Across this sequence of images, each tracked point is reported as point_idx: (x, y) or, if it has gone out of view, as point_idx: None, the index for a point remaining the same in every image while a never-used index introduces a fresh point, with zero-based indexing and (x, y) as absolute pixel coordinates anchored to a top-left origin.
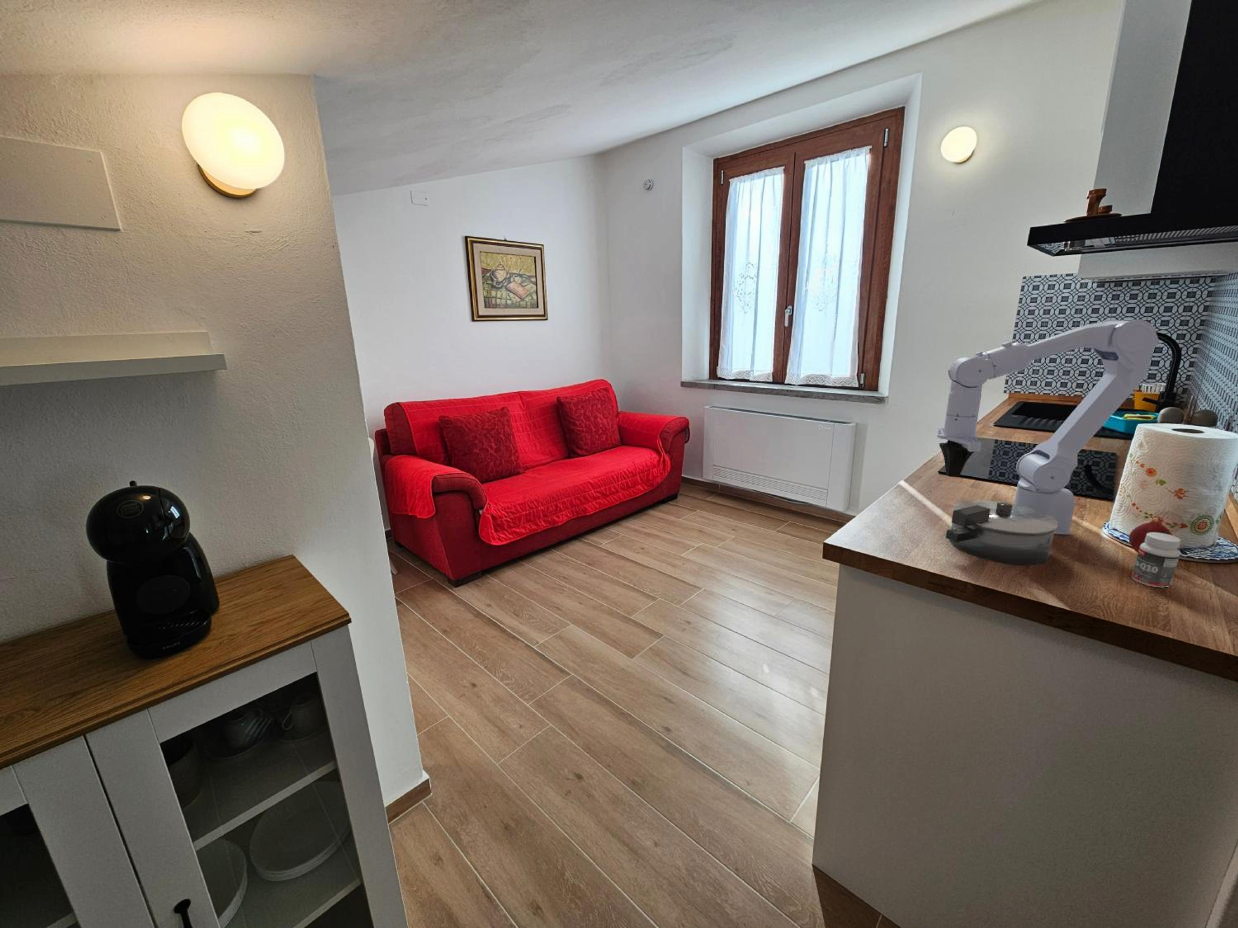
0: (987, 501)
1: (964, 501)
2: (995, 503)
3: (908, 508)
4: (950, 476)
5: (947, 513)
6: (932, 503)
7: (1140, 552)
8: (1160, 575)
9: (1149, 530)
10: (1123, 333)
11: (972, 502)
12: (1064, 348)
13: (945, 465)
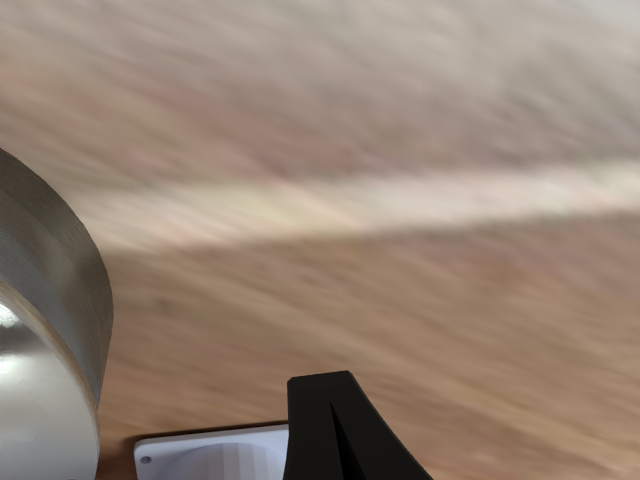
0: (73, 450)
1: (20, 329)
2: (35, 477)
3: (475, 47)
4: (289, 388)
5: (382, 239)
6: (541, 216)
7: None
8: None
9: None
10: None
11: (10, 370)
12: None
13: (379, 436)
